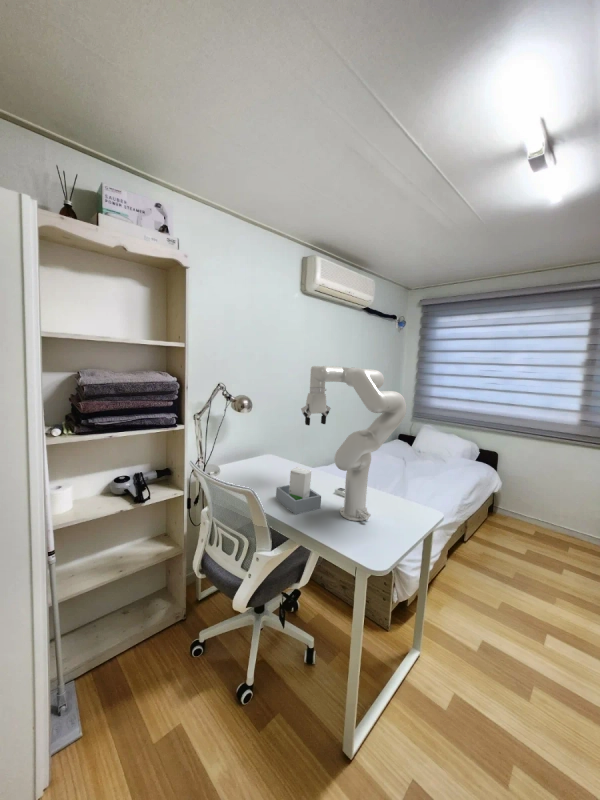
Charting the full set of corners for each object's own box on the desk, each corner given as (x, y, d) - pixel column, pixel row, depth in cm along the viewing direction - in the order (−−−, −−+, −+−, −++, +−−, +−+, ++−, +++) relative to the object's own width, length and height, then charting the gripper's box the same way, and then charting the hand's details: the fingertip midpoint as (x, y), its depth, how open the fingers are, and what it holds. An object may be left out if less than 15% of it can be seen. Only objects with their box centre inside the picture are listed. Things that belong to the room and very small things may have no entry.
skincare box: (288, 501, 145) (289, 470, 144) (295, 497, 151) (296, 466, 150) (303, 506, 141) (304, 473, 140) (310, 501, 147) (311, 470, 145)
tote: (320, 508, 143) (321, 495, 142) (294, 514, 135) (295, 501, 135) (300, 493, 158) (300, 482, 157) (276, 498, 150) (276, 487, 150)
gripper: (326, 390, 161) (324, 422, 163) (298, 390, 152) (297, 424, 154) (335, 391, 155) (333, 424, 157) (306, 391, 146) (305, 426, 148)
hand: (315, 424), depth 156 cm, fingers open, 9 cm apart
